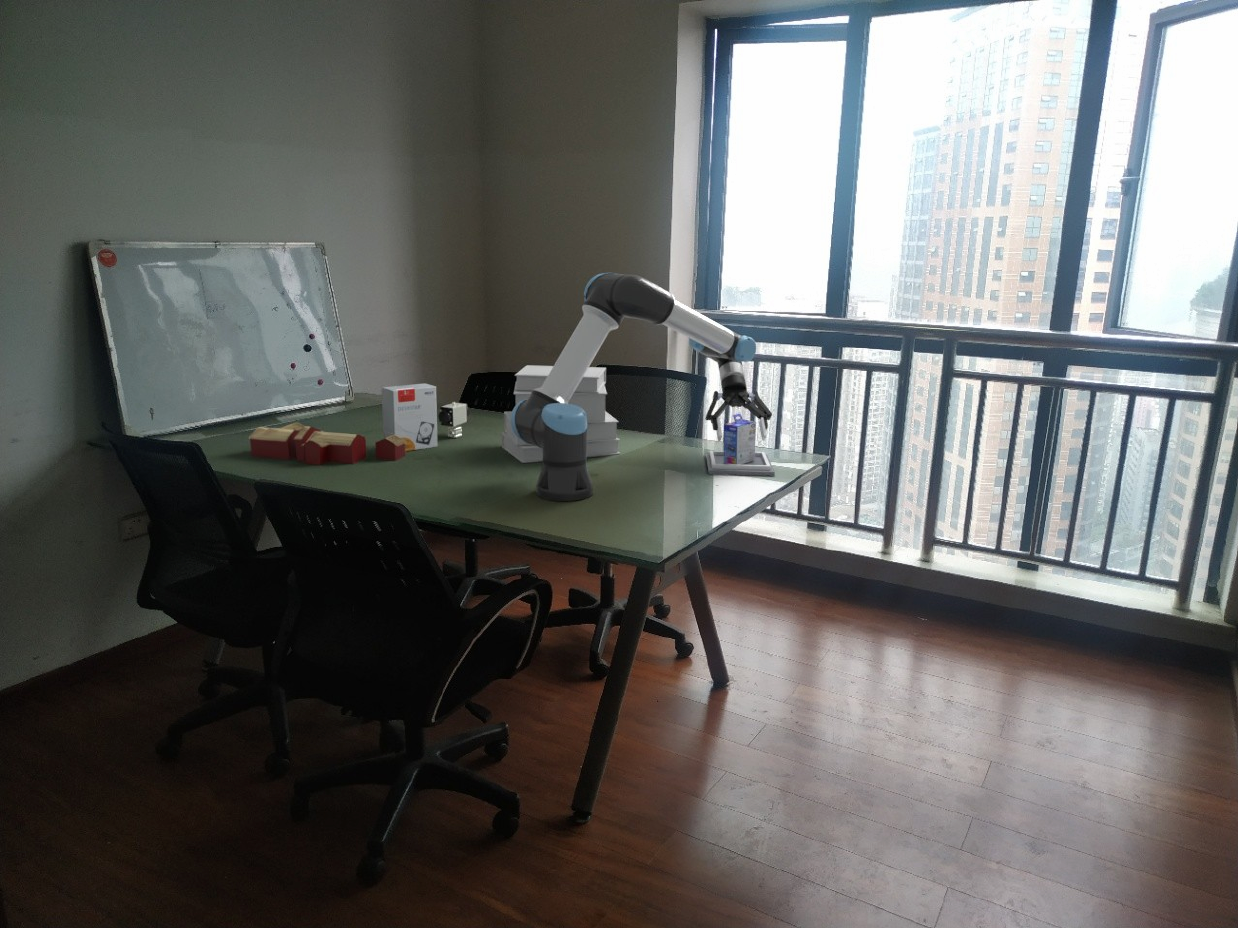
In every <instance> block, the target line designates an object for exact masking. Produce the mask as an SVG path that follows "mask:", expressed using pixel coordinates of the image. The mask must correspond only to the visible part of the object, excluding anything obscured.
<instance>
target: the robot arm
mask: <svg viewBox="0 0 1238 928" xmlns="http://www.w3.org/2000/svg"><path fill="white" fill-rule="evenodd" d="M583 296H584V298H583V301H584V303H583V305H582V308H581V309H582V312H583V316H582V317H581V319H580V320H579V322H578V324H577V326H576V328H575V329H574V331H573V333H572V335H571V336H570V337H569V339H568V340H567V343H566V344H565V346H564V348H563V350H562V351H561V353H560V354H559V356H558V358H557V359H556V361H555V363H554V365H552V366H553V368H552V370H551V371H550V373H549V375H548V377H547V378H546V380H545V382H544V383H543V385H542V387H540V388H537V389H534V390H533V391H532V393H531V394H530V396H529V398H528V399H526V400H523V401H520V402H519V403H518V404H517V405H516V404H515V406H514V407H513V409H512V414H511V426H512V430H513V432H514V433H515V435H516V436H517V437H518V438H520V439H521V440H523V441H524V442H526V443H528V444H533V445H535V446H538V447H540V448H543V461H542V466H541V469H540V473H539V476H538V479H537V481H536V486H535V490H536V491H535V492H536V496H538V497H540V498H542V499H544V500H547V501H548V500H549V501H555V502H556V501H557V502H558V501H559V502H570V501H571V502H573V501H581V500H584V499H587V498H589V497H591V496H592V495H593V494H594V487H593V482H592V479H591V475H590V473H589V470H588V466H587V457H586V456H587V418H586V413H585V411H584V410H583V409H582V408H580V407H578V406H576V405H572V404H568V402H569V400H570V399H571V397H572V395H573V393H574V392H575V390H576V388H577V387H578V385H579V383H580V381H581V380H582V378H583V376H584V374H585V373H586V371H587V369H588V368H589V367H590V366H591V364H592V363H593V360H595V357H596V356H597V354H598V352H599V350H600V349H601V346H602V345H603V344H604V342H605V340H606V338H607V337H608V336H609V333H610V332H611V331H614V330H617V329H618V328H619V326H620V325H621V324H622V321H623V320H624V319H625V318H627V319H635V320H636V319H637V320H642V321H646V322H649V323H651V324H653V325H655V326H660V325H663V326H665V327H668V328H669V329H671V330H673V331H675V332H677V333H679V334H681V335H682V336H684V337H687V338H688V343H689V346H690V347H691V348H692V349H693V350H695V351H696V352H698V353H700V354H701V355H703V356H706V357H707V358H709V359H711V360H712V361H713V362H716V363H717V366H718V367H717V368H718V371H719V377H720V379H719V380H720V385H721V392H722V393H721V392H720V393H719V392H718V391H717V390H715V391H714V392H713V395H712V401H711V403H710V406H709V408H708V410H707V411H706V412H707V413H706V415H705V421H710V423H711V425H712V430H713V431H716V437H717V441H718V442H721V441H722V438H723V432H722V427H721V421H720V419H721V418H720V416H721V415H723V413H724V411H725V410H726V409H727V408H728V407H731V408H736V407H737V408H742V407H743V408H744V409H745V410H746V409H747V410H748V411H749V412H751V414H752V415H754V416H755V417H756V418H757V419H758V420H759V421H758V424H759V430H760V435H761V441H765V440H766V438H767V430H768V428H769V424H768V421H770V420H771V418H772V416H773V413H772V411H770V409H769V407H767V405H766V404H765V403H764V401H763V400H762V399H761V398H760V395H759V393H758V391H757V390H755V391H753V392H749V391H748V389H747V383H746V377H745V372H744V367H743V366H744V365H743V363H747V362H750V361H752V360H753V358H754V357H755V355H756V352H757V343H756V341H755V339H754V338H752V337H750V336H748V335H741V334H738V333H737V332H735V331H733V330H731V329H729V328H727V326H726V327H725V326H724V325H722V324H721V323H718V322H716V321H714V320H713V319H711V318H709V317H707V316H706V315H704V314H702V313H700V312H698V311H696V310H694V309H692V308H691V307H689V306H687V305H685V304H683V303H682V302H680V301H679V300H676V299H675V296H674V294H673V293H671V292H669V290H666V289H664V288H663V287H660V286H659V285H658V284H656V283H653V282H652V281H651V280H648V279H647V278H644V277H642V276H639V275H635V274H622V273H615V272H603V273H599V274H596V275H595V276H592V278H590V280H589V281H588V282H587V283H586V286H585V288H584V291H583ZM721 399H722V401H723V403H721V406H719V407H718V408H717V410H716V411H715V412H714V409H715V407H716V404H717V402H718V401H719V400H721ZM752 401H753V402H754V403H753V402H752ZM713 412H714V413H713Z"/></svg>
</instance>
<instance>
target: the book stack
mask: <svg viewBox="0 0 1238 928" xmlns="http://www.w3.org/2000/svg"><path fill="white" fill-rule="evenodd" d="M553 366H554V365H533V364H531V365H525V366H524V367H523V368H522V369H520V370H519V371H518V372H517V373H515V374H514V377H516V381H515V384H514V390H513V395H515V406H516V405H517V404H518V403H519V402H520V401H523V400H526V399H528V398H529V396H530V394H531V393H532V391H533V390H534V389H537V388H540V387H542V385H543V383H544V382H545V380H546V378H547V377H548V375H549V373H550V371H551V370H552V368H553ZM606 383H607V367H595V366H594V367H593V366H591V367H590V366H589V368H588V369H587V371H586V373H585V374H584V376H583V378H582V380H581V381H580V383H579V385H578V387H577V388H576V390H575V392H574V393H573V395H572V397H571V399H570V400H569V402H568V404H572V405H576V406H578V407H580V408H582V409H583V410H584V411H585V413H586V418H587V456H586V458H592V457H604V456H613V455H620V454H621V452H620V451H619V441H621V439H620V438H618V437H617V431H618V429H617V428H618V427H617V426H618V425H617V424H618V423H619V422H620V421H619V420H617V418H615V417H613V416H612V415H611V414H610V413H609V412H607V411H606V395H608V392H607V389H606ZM512 411H513V410H512ZM512 411H511V410H510V411H504V412H503V421H504V423H503V425H504V427H503V428H504V432H503V431H502V432H501V438H500V439H501V448H502V449H504V450H505V451H506V452H507V451H508V452H507V453H509V455H511V456H513V457H514V458H515V459H516V460H518V461H519V462H520V463H522V464H526V463H527V464H528V463H529V464H530V463H538V462H543V448H540V447H538V446H535V445H533V444H528V443H526V442H524V441H523V440H521V439H520V438H518V437H517V436H516V435H515V433H514V432H513V430H512V426H511V414H512Z"/></svg>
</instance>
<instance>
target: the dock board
mask: <svg viewBox="0 0 1238 928" xmlns="http://www.w3.org/2000/svg"><path fill="white" fill-rule="evenodd" d="M705 458H706V465H707V471H708V475H719V474H733V475H732V476H751V475H769V476H768V477H775V476H776V475H775V474H776V473H775V470H774V468H773V465H772V462H771V461H770V459H769V456H768V454H766V451H755V460H754V461H751V462H747V463H744V464H741V465H738V464H725V463H724V450H709V452H706V453H705ZM735 474H736V475H735Z"/></svg>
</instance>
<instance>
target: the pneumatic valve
mask: <svg viewBox="0 0 1238 928" xmlns="http://www.w3.org/2000/svg"><path fill="white" fill-rule="evenodd" d="M439 410H440V412H438V415H437V419H438V422H440V426H446V427H447V430H448V431H447V437H448V438H454V439H457V438H460V437H462V436H463V434H462V432H463V430H462V429H463V427H462V426H461V425H462V424H465V423H468V422H469V418H468V417H469V416H470V409H469V407H468V403H463V402H456V401H452V402H451V403H449V404H445V405H443V406H440V408H439Z"/></svg>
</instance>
